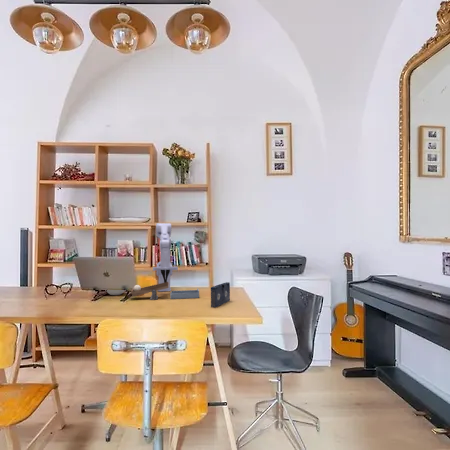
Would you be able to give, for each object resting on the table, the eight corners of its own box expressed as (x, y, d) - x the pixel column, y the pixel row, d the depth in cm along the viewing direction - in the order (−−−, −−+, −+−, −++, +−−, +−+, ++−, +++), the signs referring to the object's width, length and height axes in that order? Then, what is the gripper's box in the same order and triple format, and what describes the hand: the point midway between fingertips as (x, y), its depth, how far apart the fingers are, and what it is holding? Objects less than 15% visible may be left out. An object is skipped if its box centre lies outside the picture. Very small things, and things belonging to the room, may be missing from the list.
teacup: (127, 292, 211) (127, 279, 211) (120, 296, 200) (120, 282, 200) (106, 292, 212) (106, 279, 212) (97, 296, 201) (97, 282, 201)
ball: (134, 292, 194) (133, 285, 194) (141, 290, 195) (140, 283, 195) (133, 293, 190) (132, 286, 190) (141, 292, 191) (139, 284, 191)
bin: (170, 296, 199) (170, 289, 200) (198, 295, 202) (198, 288, 202) (170, 299, 191) (170, 291, 191) (199, 298, 193) (199, 290, 193)
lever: (135, 291, 203) (134, 286, 203) (168, 283, 206) (167, 278, 206) (132, 296, 189) (130, 290, 189) (168, 287, 192) (167, 282, 191)
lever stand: (151, 296, 199) (151, 286, 199) (158, 296, 199) (158, 286, 199) (149, 300, 188) (149, 289, 188) (157, 299, 189) (157, 289, 189)
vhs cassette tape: (226, 300, 187) (225, 282, 187) (230, 300, 186) (230, 282, 186) (209, 307, 170) (209, 287, 171) (215, 307, 169) (214, 287, 169)
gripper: (152, 260, 199) (152, 284, 199) (177, 260, 201) (177, 283, 201) (153, 259, 206) (153, 282, 206) (177, 259, 208) (177, 281, 208)
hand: (165, 282), depth 204 cm, fingers closed
